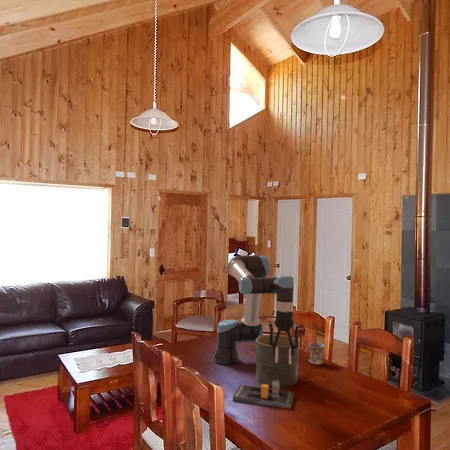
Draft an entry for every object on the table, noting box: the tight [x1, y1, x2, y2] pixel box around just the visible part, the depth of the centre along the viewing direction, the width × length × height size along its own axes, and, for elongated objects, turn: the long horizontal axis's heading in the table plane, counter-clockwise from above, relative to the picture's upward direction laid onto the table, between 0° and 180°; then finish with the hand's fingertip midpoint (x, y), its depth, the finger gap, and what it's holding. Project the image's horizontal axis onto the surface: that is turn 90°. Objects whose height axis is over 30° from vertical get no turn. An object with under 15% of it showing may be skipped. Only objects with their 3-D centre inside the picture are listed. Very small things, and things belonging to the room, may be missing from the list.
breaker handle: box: [260, 383, 270, 399], centre depth 178 cm, size 3×3×5 cm
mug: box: [304, 342, 325, 366], centre depth 232 cm, size 12×9×11 cm
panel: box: [232, 380, 295, 410], centre depth 182 cm, size 26×14×7 cm, turn 74°
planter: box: [255, 334, 300, 388], centre depth 206 cm, size 22×22×20 cm
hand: (283, 362), depth 176 cm, fingers open, 5 cm apart
